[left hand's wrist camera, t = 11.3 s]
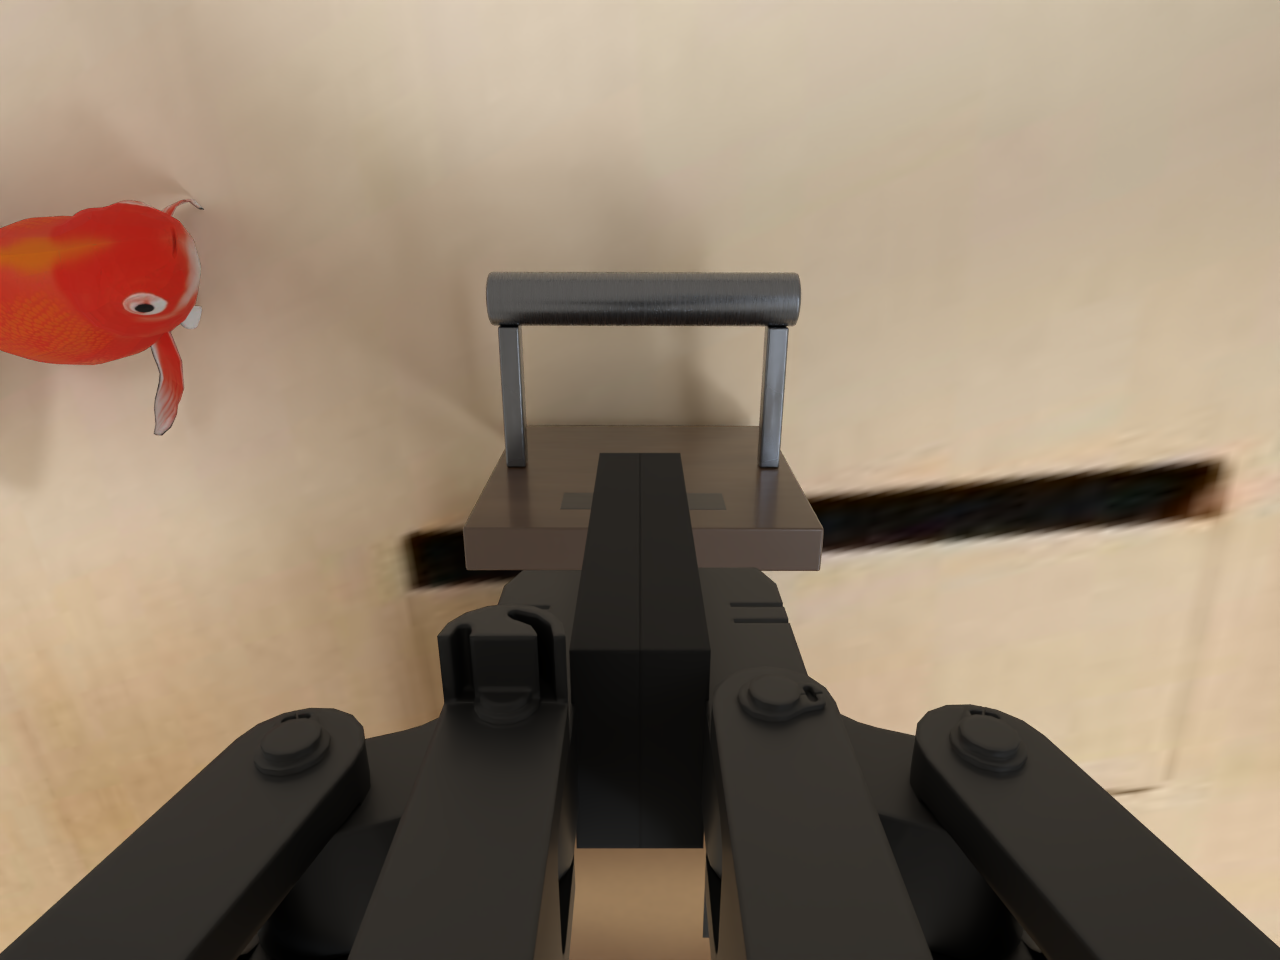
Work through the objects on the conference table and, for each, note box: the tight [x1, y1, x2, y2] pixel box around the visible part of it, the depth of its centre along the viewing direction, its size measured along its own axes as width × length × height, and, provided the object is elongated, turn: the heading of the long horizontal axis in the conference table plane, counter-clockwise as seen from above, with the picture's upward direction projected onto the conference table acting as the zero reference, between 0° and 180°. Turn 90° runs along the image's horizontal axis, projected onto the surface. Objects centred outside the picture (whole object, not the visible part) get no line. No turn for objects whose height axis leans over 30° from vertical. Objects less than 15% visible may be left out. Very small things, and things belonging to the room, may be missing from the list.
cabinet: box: [569, 835, 711, 960], centre depth 30 cm, size 20×10×11 cm, turn 0°
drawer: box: [463, 272, 824, 571], centre depth 26 cm, size 25×9×9 cm, turn 0°
